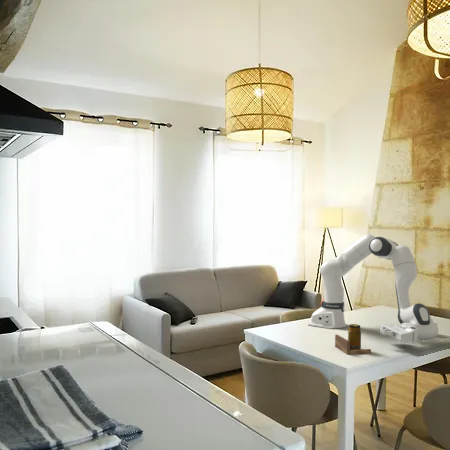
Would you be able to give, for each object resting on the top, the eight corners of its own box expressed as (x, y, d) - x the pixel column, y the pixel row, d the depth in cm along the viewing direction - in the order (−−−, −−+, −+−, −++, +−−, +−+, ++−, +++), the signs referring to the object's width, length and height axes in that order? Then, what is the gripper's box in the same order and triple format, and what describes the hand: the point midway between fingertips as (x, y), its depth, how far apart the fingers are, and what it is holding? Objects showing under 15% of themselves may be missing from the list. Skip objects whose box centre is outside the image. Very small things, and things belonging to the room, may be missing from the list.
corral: (357, 345, 239) (357, 333, 239) (370, 353, 226) (371, 340, 226) (334, 346, 237) (335, 334, 236) (347, 354, 223) (347, 341, 223)
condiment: (351, 346, 237) (352, 322, 237) (367, 350, 231) (367, 325, 231) (344, 349, 232) (344, 325, 231) (360, 353, 226) (360, 328, 225)
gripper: (395, 320, 248) (371, 321, 245) (419, 330, 228) (393, 331, 225) (395, 332, 248) (370, 333, 245) (418, 343, 228) (392, 344, 225)
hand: (381, 332), depth 235 cm, fingers closed
